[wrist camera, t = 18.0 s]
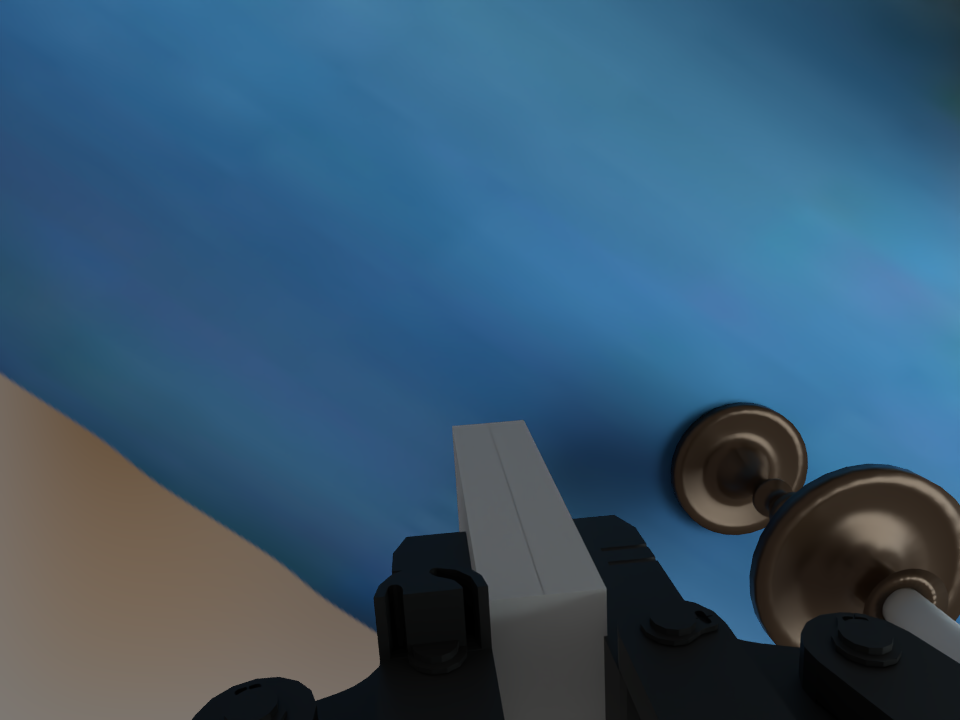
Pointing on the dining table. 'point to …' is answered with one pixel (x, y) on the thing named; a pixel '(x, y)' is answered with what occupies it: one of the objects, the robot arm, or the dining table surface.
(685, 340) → the dining table surface
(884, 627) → the robot arm
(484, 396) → the dining table surface
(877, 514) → the candlestick
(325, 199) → the dining table surface
